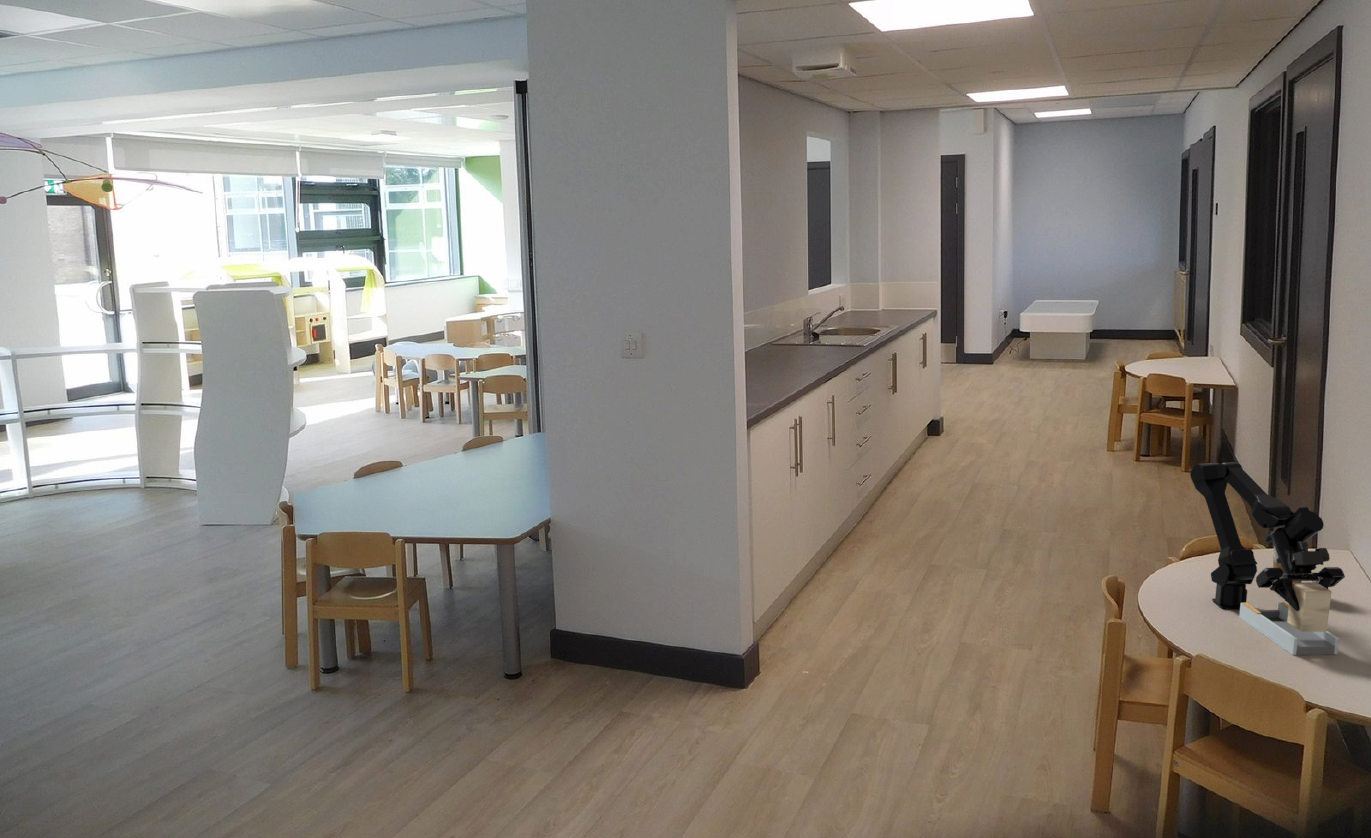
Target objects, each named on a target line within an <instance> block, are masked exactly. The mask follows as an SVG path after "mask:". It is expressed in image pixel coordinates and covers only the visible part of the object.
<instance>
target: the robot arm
mask: <svg viewBox="0 0 1371 838" xmlns="http://www.w3.org/2000/svg"><path fill="white" fill-rule="evenodd" d="M1190 479H1191V481H1192V484H1193V486H1194V488H1195V490H1196V491H1198V492H1199V493H1200V494H1201V495H1202V496H1203V498H1204V500H1205V502H1206V505H1207V507H1208V511H1209V515H1210V518H1211V521H1212V524H1213V527H1214V531H1215V534H1216V537H1217V541H1218V544H1219V547H1220V551H1219V552H1220V553H1219V556H1218V558H1217V563H1218V567H1217V568H1215V569H1214V570H1213V571H1212V572H1211V573H1210V578H1211V581H1212V582H1213V583H1215V584H1216V587H1215V597H1214V598H1212V599H1211V601H1212V602H1213V603H1214V604H1216V605H1217V606H1218V607H1219V608H1221V609H1223V610H1224V609H1225V610H1240V605H1241V603H1247V599H1248V589H1247V585H1252V583H1253V581H1254V580H1255V583H1256V586H1257V587H1258V588H1260V589H1261V588H1263V589H1264V588H1266V589H1267V588H1269V589H1270V592H1271V591H1273V592H1274V593H1276V594H1278V595H1279V597H1281V598H1282V599H1283V600H1284V601H1285V602H1287V604H1288V605H1289V604H1290V605H1291V606H1292V607H1293V608H1294V609H1295V610H1296V611H1299V610H1300V607H1299V603H1298V600H1297V598H1296V595H1295V592H1294V590H1293V587H1292V581H1302V582H1316V583H1318V584H1320V585H1322V586H1323V587H1325V588H1327V589H1329V588H1332V587H1335V586H1336V585H1338V584H1339V583H1341V581H1343V580H1344V579H1345V578H1346V576H1345V573H1344V570H1343V569H1342V568H1341V567H1339V566H1332V567H1331V566H1328V567H1326V566H1324V567H1323V568H1321V570H1319V572H1318V571H1317V572H1313V571H1314V570H1316V569H1317V566H1319V565H1321V566H1323V565H1324V563H1325V562H1329V561H1330V553H1329V551H1328V549H1327V548H1326V547H1319V548H1315V550H1311V551H1310V550H1309V549H1308V550H1307V549H1303V547H1302V545H1301V542H1305V541H1307V542H1308V540H1310V539H1311V538H1312V537H1314V536H1315V535H1316V534H1318V533H1319V532H1320V531H1322V530H1323V528H1324V520H1323V519H1322V517H1321V516H1319V515H1318V514H1317V513H1316V512H1314V511H1311V510H1310V509H1309V507H1308V506H1301V507H1298V508H1297V509H1296V511H1294V510H1292V509H1291V508H1290V507H1289V506H1288V505H1287V504H1286V503H1285V502H1283V501H1282V500H1281V499H1279V498H1276V497H1274V496H1271V495H1269V494H1268V493H1266V491H1265V490H1264V489H1263V488H1262V487H1261V486H1260V485H1259V484H1258V483H1257V482H1255V480H1254V479H1253V478H1252V477H1251V476H1250V475H1249V474H1248V473H1247V472H1246V471H1245V470H1244V469H1243V466H1242V464H1240V463H1239V462H1234V461H1232V462H1221V463H1218V462H1210V463H1197V464H1195V465H1193V467H1192V469H1191V470H1190ZM1228 484H1229V485H1230V486H1231V487H1232V488H1233V490H1234V492H1236V493H1237V494H1238V495H1239V496H1240V497H1241V498H1242V499H1243V500H1244V501H1245V503H1247V504H1248V506H1249V507H1250V509H1251V516H1252V517H1253V518H1254V520H1255V521H1256V523H1257V524H1258V526H1259V527H1260V528H1262V529H1273V528H1276V529H1275V530H1274V531H1272V530H1271V531H1269V533H1268V535H1267V537H1266V538H1265V542H1267V543H1273V544H1274V545H1273V547H1274V546H1275V549H1276V552H1277V554H1278V557H1279V558H1278V559H1277V560H1276V561H1277V564H1281V566H1282V569H1283V570H1282V569H1281V568H1273V567H1265V568H1264V569H1262V571H1260V573H1259V574H1257V572H1258V567H1257V565H1258V562H1257V561H1256V558H1255V554H1254V550H1253V549H1251V548H1245V547H1244V546H1243V545H1242V543H1241V539H1240V536H1239V533H1238V530H1237V527H1236V524H1235V521H1234V517H1233V515H1232V511H1231V508H1230V505H1229V502H1228V501H1229V500H1228V499H1227V495H1226V490H1227V487H1228ZM1283 571H1284V572H1283ZM1256 574H1257V575H1256ZM1255 576H1256V577H1255Z"/></svg>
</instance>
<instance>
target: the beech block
mask: <svg viewBox="0 0 1371 838" xmlns="http://www.w3.org/2000/svg"><path fill="white" fill-rule="evenodd" d="M1292 587H1293V590H1294V592H1295V595H1296V598H1297V600H1298V603H1299V607H1300V610H1299V611H1296V610H1295V609H1294V608H1293V607H1292V606H1291V605H1290V604H1289V603H1288V605H1289V610H1288V619H1287V623H1289V624H1290V625H1292V626H1293V627H1295V628H1296V629H1298V630H1299V631H1301V632H1327V631H1328V624H1329V616H1330V608H1331V607H1330V606H1331V599H1332V593H1333V592H1332V590H1331V589H1329V588H1328V589H1327V588H1325V587H1323V586H1322V585H1320V584H1318V583H1316V582H1313V581H1305V582H1301V583H1292Z"/></svg>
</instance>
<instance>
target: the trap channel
mask: <svg viewBox="0 0 1371 838" xmlns="http://www.w3.org/2000/svg"><path fill="white" fill-rule="evenodd" d="M1288 610H1289V603H1286V601H1285V602H1284V601H1281V602H1278V606H1277V609H1257V608H1255V607H1253V606H1252V605H1250V603H1247V602H1246V603H1241V605H1240V609H1239V616H1238V618H1239V619H1241V620H1242V621H1243V622H1244V623H1246V624H1248V625H1249V626H1250V627H1252V628H1253V629H1255V630H1256V631H1257V632H1259V633H1260V634H1262V636H1265V638H1267V639H1269V640H1270V641H1272V642H1273V643H1275V644H1276V645H1278V646H1279V647H1280V648H1282V649H1284V650H1285V651H1286V652H1288V653H1289V654H1291V655H1292V656H1325V655H1324V654H1337V655H1338V654H1339V653H1338V651H1339V645H1340V643H1339V642H1340V638H1339V637H1338V636H1336V635H1335V634H1333V633H1331V632H1330V631H1328V630H1327V632H1301V631H1299V630H1298V629H1296V628H1295V627H1293V626H1292V625H1290V624H1289V623H1287V619H1288Z"/></svg>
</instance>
